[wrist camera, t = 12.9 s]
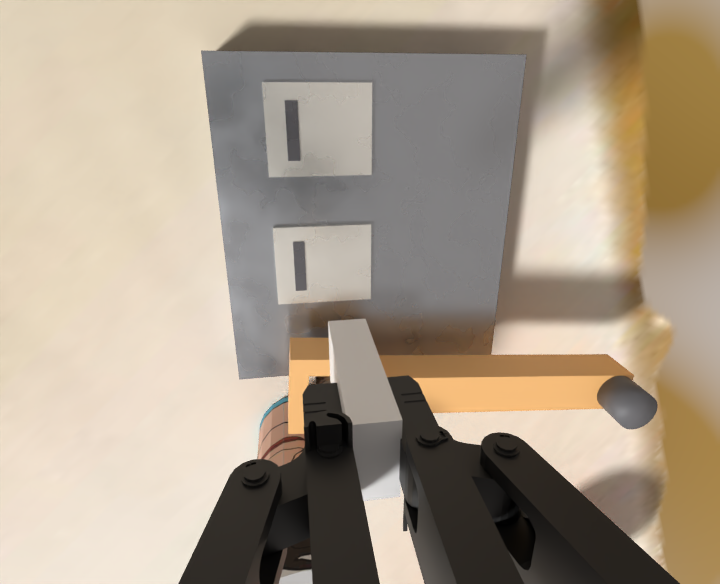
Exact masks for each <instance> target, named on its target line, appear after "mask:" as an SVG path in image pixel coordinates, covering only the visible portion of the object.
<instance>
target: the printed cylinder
mask: <svg viewBox="0 0 720 584" xmlns="http://www.w3.org/2000/svg"><path fill="white" fill-rule="evenodd" d="M304 446H305V441H304V434H288V397H285V398H283V399H281V400H280V401H278V402H276V403H275V404H273V405H272V406H271V407H270V408H269V409H268V411H267V412H266V413H265V414H264V416H263V419H262V421H261V424H260V432H259V445H258V457H257V459H265V460H270V461H272V462H274V463H275V464H277V465H278V467H279V466H282V465H284V464H287V463H289V462H291V461H293V460H294V459H296V458H297V457H298V456H299V455H300V454H301V453H302V451H303V449H304ZM279 584H313V582H312V564H311V546H310V538H308V539H306V540H303V541H301V542H299V543H297V544H294V545H292V546H290V547H288V548H287V555H286V559H285V562H284V566H283V570H282V574H281V577H280V581H279Z"/></svg>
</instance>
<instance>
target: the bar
mask: <svg viewBox="0 0 720 584" xmlns="http://www.w3.org/2000/svg"><path fill="white" fill-rule="evenodd" d="M379 357H380V360H381V363H382V365H383V368H384V371H385V374H386V376H387V377H396V376H407V375H409V376H410V377H411V378H413V379H414V380H415V381H416V382H418V383H419V386H420V388H421V390H422V392H423V394H424V396H425V398H426V401H427V403H428V405H429V407H430V409H431V411H432V413H450V412H490V411H529V410H569V409H605V410H606V411H607V412H608V413H609V414H610V415H611V416H612V417H613V418H614V419H615V420H616V421H617V422H618V423H619V424H620V425H621V426H623V427H624V428H626V429H637V428H640V427H642V426H644V425H646V424H647V423H648V422H649V421H650V420H651V419H652V418H653V417H654V415H655V413H656V411H657V402H656V400H655V398H653V397H652V396H651V395H650V394H648V393H647V392H646V391H645V390H643V389H642V388H641V387H640V386H638V385H637V384H636V383H635V382H633V381H632V380H633V377H634V375H633V374H632V373H631V372H629V371H628V370H627V369H625V368H624V367H623V366H622V365H620V364H619V363H618V362H616V361H615V360H614V359H613V358H611V357H610V356H609V355H607V354H594V355H379ZM309 376H330V359H329V338H290V353H289V392H288V434H304V415H303V396H302V394H303V392H304V391H305V389H306V388H307V386H308V384H309Z"/></svg>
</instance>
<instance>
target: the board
mask: <svg viewBox="0 0 720 584" xmlns="http://www.w3.org/2000/svg"><path fill="white" fill-rule="evenodd" d="M201 54H202V63H203V71H204V80H205V88H206V97H207V105H208V114H209V123H210V131H211V140H212V148H213V157H214V165H215V174H216V183H217V191H218V200H219V208H220V217H221V225H222V234H223V243H224V251H225V260H226V268H227V277H228V285H229V294H230V303H231V311H232V320H233V328H234V337H235V345H236V354H237V363H238V371H239V379H250V378H263V377H275V376H287V375H289V353H290V338H329V332H328V321H337V320H352V319H366V322H367V324H368V327H369V330H370V333H371V335H372V338H373V341H374V344H375V346H376V349H377V352H378V354H379V355H491V351H492V342H493V334H494V325H495V317H496V308H497V300H498V291H499V283H500V274H501V266H502V257H503V249H504V240H505V232H506V223H507V215H508V206H509V198H510V190H511V181H512V173H513V164H514V156H515V147H516V139H517V130H518V122H519V113H520V105H521V96H522V88H523V79H524V71H525V62H526V55H518V54H435V53H352V52H269V51H201ZM315 377H316V384H326V383H331V381H330V376H315Z"/></svg>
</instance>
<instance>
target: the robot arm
mask: <svg viewBox="0 0 720 584" xmlns="http://www.w3.org/2000/svg"><path fill="white" fill-rule="evenodd" d="M328 332H329V359H330V381H331V383H326V384H314V385H308V386H307V388H306V389H305V391H304V392H303V394H302V396H303V415H304V441H305V446H304V449H303V451H302V453H301V454H300V455H299V456H298V457H297V458H296V459H294V460H293V461H291V462H289V463H287V464H284V465H282V466H279V467H278V465H277V464H275V463H274V462H272V461H270V460H265V459H255V460H250V461H247V462H245V463H243V464H241V465H240V466H238V467H237V468H235V470H234V471H233V472H232V474H231V475H230V477H229V479H228V481H227V483H226V485H225V487H224V489H223V491H222V494H221V496H220V498H219V500H218V502H217V504H216V506H215V508H214V510H213V512H212V514H211V517H210V519H209V521H208V523H207V525H206V527H205V529H204V531H203V533H202V535H201V538H200V540H199V542H198V544H197V546H196V548H195V550H194V552H193V554H192V556H191V559H190V561H189V563H188V565H187V567H186V569H185V571H184V573H183V575H182V577H181V580H180V582H179V584H279V581H280V577H281V574H282V570H283V566H284V562H285V559H286V555H287V548H288V547H290V546H292V545H294V544H297V543H299V542H301V541H303V540H306V539H308V538H310V546H311V564H312V582H313V584H380V583H379V578H378V573H377V567H376V562H375V557H374V552H373V547H372V542H371V537H370V532H369V527H368V522H367V517H366V511H365V506H364V501H368V500H376V499H384V498H393V497H400V484H401V487H402V490H403V493H404V514H403V531H407V524H408V527H409V530H410V534H411V537H412V541H413V544H414V548H415V551H416V555H417V558H418V562H419V565H420V569H421V572H422V576H423V579H424V583H425V584H680V583H678V581H676V580H675V579H674V578H673V577H672V576H671V575H670V574H669V573H668V572H667V571H666V570H664V569H663V568H662V567H661V566H660V565H659V564H658V563H657V562H656V561H655V560H654V559H652V558H651V557H650V556H649V555H648V554H647V553H646V552H645V551H644V550H643V549H642V548H640V547H639V546H638V545H637V544H636V543H635V542H634V541H633V540H632V539H631V538H630V537H628V536H627V535H626V534H625V533H624V532H623V531H622V530H621V529H620V528H619V527H618V526H616V525H615V524H614V523H613V522H612V521H611V520H610V519H609V518H608V517H607V516H606V515H604V514H603V513H602V512H601V511H600V510H599V509H598V508H597V507H596V506H595V505H594V504H592V503H591V502H590V501H589V500H588V499H587V498H586V497H585V496H584V495H583V494H582V493H580V492H579V491H578V490H577V489H576V488H575V487H574V486H573V485H572V484H571V483H570V482H568V481H567V480H566V479H565V478H564V477H563V476H562V475H561V474H560V473H559V472H557V471H556V470H555V469H554V468H553V467H552V466H551V465H550V464H549V463H548V462H547V461H545V460H544V459H543V458H542V457H541V456H540V455H539V454H538V453H537V452H536V451H535V450H533V449H532V448H531V447H530V446H529V445H528V444H527V443H526V442H525V441H523V440H522V439H520V438H519V437H517V436H514V435H511V434H508V433H500V432H499V433H492V434H489V435H488V436H486V437H485V438H484V439H483V441H482V443H481V445H474V444H467V443H462V442H458V441H455V440H453V438H452V436H451V435H450V434H449V432H448V431H447V430H445V429H443V428H442V427H439V426H438V424H437V422H436V419H435V417H434V415H433V413H432V411H431V409H430V407H429V405H428V403H427V401H426V398H425V396H424V394H423V392H422V390H421V388H420V386H419V383H418V382H416V381H415V380H414V379H413V378H411V377H410V376H409V375H407V376H396V377H387V376H386V374H385V371H384V368H383V365H382V363H381V360H380V357H379V354H378V352H377V349H376V346H375V344H374V341H373V338H372V335H371V333H370V330H369V327H368V324H367V322H366V319H352V320H337V321H328Z"/></svg>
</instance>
